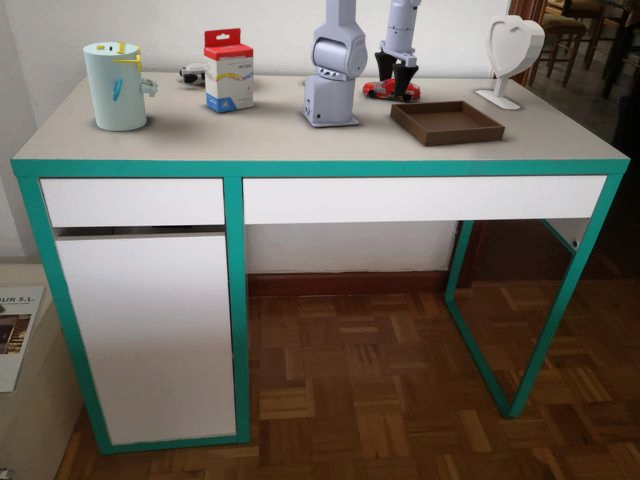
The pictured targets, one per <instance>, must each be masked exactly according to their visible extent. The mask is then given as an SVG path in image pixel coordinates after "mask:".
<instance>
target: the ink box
mask: <svg viewBox="0 0 640 480" xmlns="http://www.w3.org/2000/svg"><path fill="white" fill-rule="evenodd" d="M241 33H242V30H241V27H233V28H222V29H220V28H219V29H210V30H204V32H203V38H204V47H203V60H204V62H203V63H204V64H205V82H206V83H205V100H206V106H207V107H208V108H210V109H211V110H213V111H215V112H216V113H218V114H220V113H225V112H232V111H236V110H242V109H247V108H252V107H254V48H253V47H251V46H249V45H246V44H244V43H242V42H241V36H242V35H241ZM222 35H224V36H228V37H226V38H217V37H219V36H222Z"/></svg>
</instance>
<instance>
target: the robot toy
mask: <svg viewBox="0 0 640 480" xmlns="http://www.w3.org/2000/svg"><path fill="white" fill-rule="evenodd" d="M175 80H176V82H178V83H183V82H184V84H186V85H187V84H192V85H193V86H199V85H200V84H206V82H205V64H204V62H192V63H189V64H187V65H184V66H182V68H181V69H180V70H179V76H178V77H176V78H175Z"/></svg>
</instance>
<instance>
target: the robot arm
mask: <svg viewBox="0 0 640 480" xmlns="http://www.w3.org/2000/svg"><path fill="white" fill-rule="evenodd" d="M422 1H423V0H390V5H389V11H388V12H389V13H388V20H387V25H386V26H387V27H386V34H385V40H383V39H382V40H379V45H378V50H380V52H379V51H377V52H374V58H375V60H376V64H377V67H378V77H379V82H382V81H385V80H388V79H393V77H394V96H395V97H401V96H404V95H405V92H406V90H407V87H408V85H409V83H410V82H411V81H412V79H413V77H414V76H415V75H416V73H418V71H419V70H420V66H419V65H418V64H417V63H418V57H417V56H416V55H415V53H416V48H414V47H412V45H413V40H414V35H415V34H414V33H415V27H416V21H417V16H418V15H417V14H418V10H419V6H421V3H422ZM356 17H357V0H325V21H324V22H322V23H320V25H318V26H317V27H316V28H315V29H314V30H313V40H312V45H311V48H310V60H311V63H312V65H313V66H314V67H315V73H316V74H312V75H308V76H306V79H305V82H304V93H303V110H302V113H301V114H302V115H303V116H304V117H305V118H306V119H307V121H308V122H309V124H311V126H312V127H313V128H326V127H338V126H339V127H340V126H356V125H359V124H360V122H359V121H358V119H357V118H355V117H354V116H353V108H354V99H355V89H356V78H360V76H361V75H362V73H363V72H364V71H365V70H366V67H367V65H368V60H369V54H368V49H367V45H366V33H365V32H364V31H363V29H362V27H360V26H359V24H358V23H357V21H356V19H357V18H356ZM398 61H400V62H399V63H397V62H398Z"/></svg>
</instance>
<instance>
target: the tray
mask: <svg viewBox="0 0 640 480" xmlns="http://www.w3.org/2000/svg"><path fill="white" fill-rule="evenodd" d="M389 117H390V118H391V119H392V120H393V121H394V122H396V123H397V124H398V125H399V126H400V127H402V128H403V129H404V130H405V131H406V132H407V133H409V135H410V136H412V137H413V138H414V139H416V141H418V142H419V143H420V144H421V145H423V146H424V147H428V146H429V147H430V146H442V145H454V144H466V143H467V144H468V143H478V142H479V143H480V142H481V143H482V142H490V141H491V142H492V141H501V140H503V137H504V133H505V129H506V125H503V124H502V123H500V122H499V121H497V120H496V119H493V118H492V117H491V116H489V115H488V114H486V113H484V112H483V111H481V110H480V109H478V108H476V107H475V106H473V105H471V104H470V103H468V102H467V101H465V100H447V101H446V100H445V101H425V102H404V103H392V104H391V105H390V113H389Z"/></svg>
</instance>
